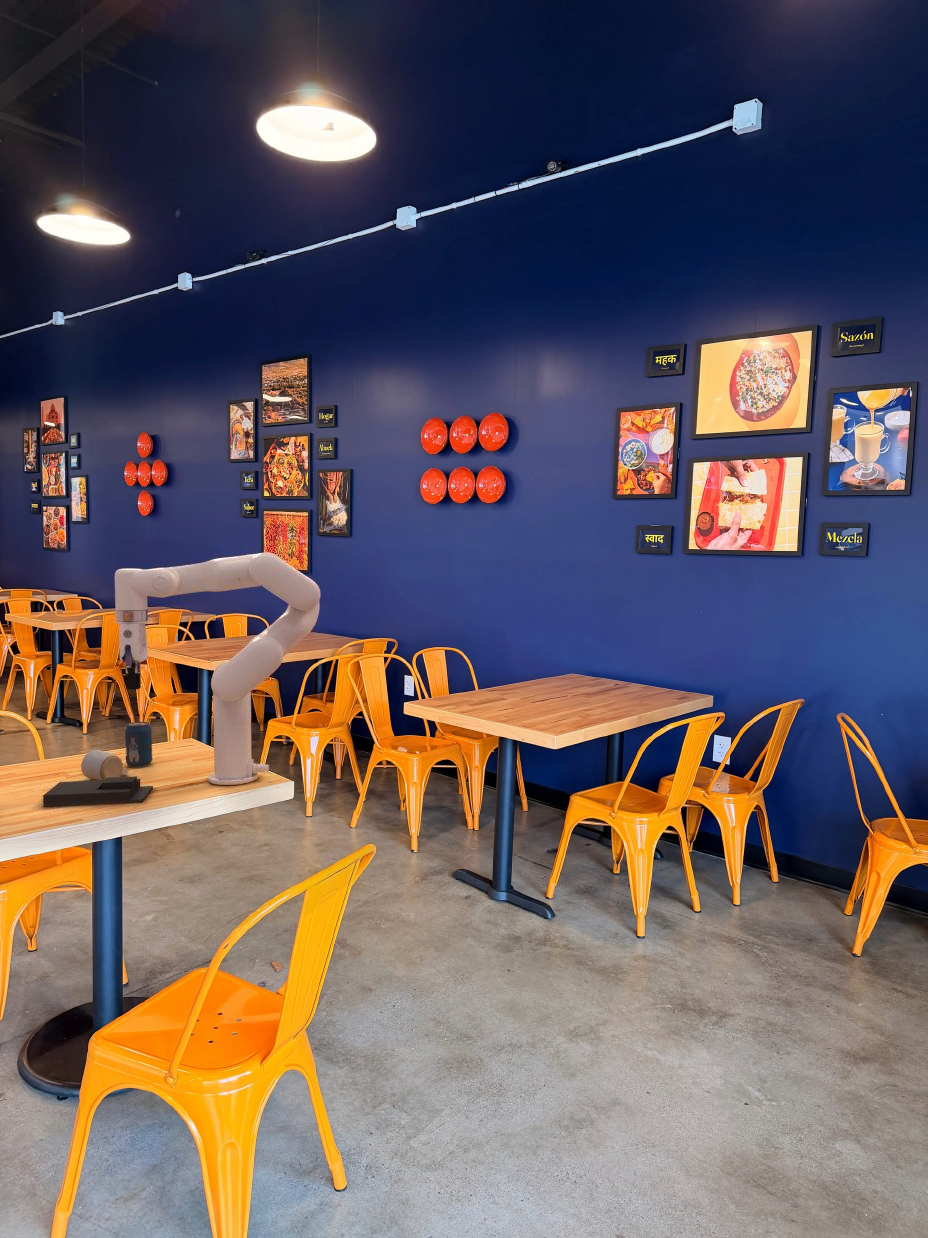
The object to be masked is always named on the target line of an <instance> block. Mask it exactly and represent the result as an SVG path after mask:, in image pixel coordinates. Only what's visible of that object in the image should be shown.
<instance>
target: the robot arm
mask: <svg viewBox="0 0 928 1238" xmlns="http://www.w3.org/2000/svg"><path fill="white" fill-rule="evenodd" d="M257 587H263V588H264V589H266V590H267V591H269V592H270V593H271V594H273V595H274V596H276V597H278V598H279V599H280V600H282V601H284V602H285V603H286V604H288V605H287V608H286V610H285V611H284V613H282V614H281V615H280V616H279V617H278V618H277V619H276V620H275V621H274V622H273V623H272V624H270V625H269V626H268V627H267V628H265V629H264V630H263V631H262V632H261V633H258V634H257V635H255V636H254V637H253V638H251V639H250V640H249V641H248V643H247V644H246V646H245V647H243V648H242V649H241V650H240V651H238V652H237V653H236V654H235V655H234V656H233V657H231V658H230V659H229V660H225V661H223V662H221V663H220V664H218V665H217V666H216V668H215V669H214V671H213V674H212V676H211V681H210V686H211V690H212V695H213V696H212V698H213V702H212V703H213V704H212V705H213V706H212V707H213V711H212V713H213V714H212V715H213V764H214V765H213V767H214V769H213V771H214V772H212V773H210V774H209V775H208V782H209V783H210V784H213V785H217V786H218V785H219V786H234V785H235V786H236V785H243V784H247V783H251V782H254V781H256V780H258V778H259V777H258V776H259V773H269V772H270V765H269V764H265V763H255V761H254V760H255V759H254V758H252V691H253V690H254V689H256V688H257V687H258V686H259V685H261V684H262V683H263V682H265V680H266V679H268V678H269V677H270V676H271V675H272V674H274V672H276V671H277V669H279V667H280V666H281V664H282V663H283V660H284V657H285V656H287V654H288V653H289V652H291V651H292V650H293V649H294V648H295V647H296V646H297V645H299V643H301V642H302V641H303V640H304V639H305V638H306V637H307V636H308V635H309V634H310V633H311V631H312V630H313V629H314V627H315V626H316V624H317V621H318V618H319V614H320V606H321V605H320V599H321V595H322V594H321V589H320V587H319V585H318V584H317V583H316V582H315V581H314V580H313V579H312V578H310V577H309V576H307V575H305V574H304V573H302V572H301V571H299V570H298V569H297V568H295V567H293V566H292V565H290V564H288V563H287V562H286V561H285V560H283V559H282V558H280V557H279V556H278V555H277V554H275V553H273V552H269V551H266V552H260V553H252V554H245V555H237V556H227V557H220V558H214V559H210V560H207V561H204V562H200V563H199V562H198V563H193V564H185V565H178V566H170V567H157V568H148V569H142V568H119V569H117V570H116V571H115V572H114V600H115V601H114V602H115V603H114V604H115V605H114V606H115V624H119V632H118V633H119V637H118V638H119V639H118V640H119V641H118V642H119V644H118V645H119V646H118V647H119V648H118V649H119V661H120V662H121V663H123V664H125V666H124V667H125V689H126V690H127V691H129V690H139V689H141V688H142V679H141V678H142V677H141V662H142V663H143V662H144V661H146V660H147V659H148V657H149V651H148V636H147V628H146V624H148V623H149V615H148V613H149V612H148V609H149V608H148V597H153V598H167V597H172V596H179V595H185V594H186V595H187V594H193V593H201V592H202V593H203V592H216V593H217V592H227V591H234V590H239V589H247V588H257ZM265 771H267V772H265Z"/></svg>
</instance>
